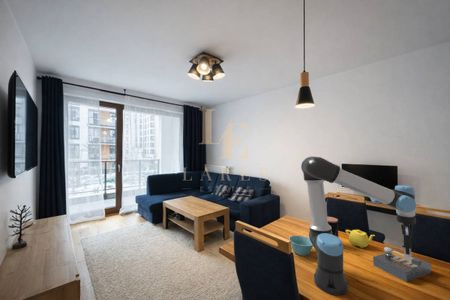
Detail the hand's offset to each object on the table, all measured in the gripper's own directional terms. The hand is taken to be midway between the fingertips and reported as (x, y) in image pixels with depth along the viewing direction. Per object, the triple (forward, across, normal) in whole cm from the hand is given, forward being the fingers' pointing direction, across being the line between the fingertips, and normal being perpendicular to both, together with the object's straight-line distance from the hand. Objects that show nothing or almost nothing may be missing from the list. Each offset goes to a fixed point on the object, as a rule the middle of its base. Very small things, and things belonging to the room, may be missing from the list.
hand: (407, 259), depth 102 cm
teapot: (+10, +27, +24) cm, 37 cm away
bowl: (+9, -10, +53) cm, 54 cm away
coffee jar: (+9, +17, +41) cm, 46 cm away
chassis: (+10, +8, +3) cm, 13 cm away
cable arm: (+3, +8, +3) cm, 9 cm away
